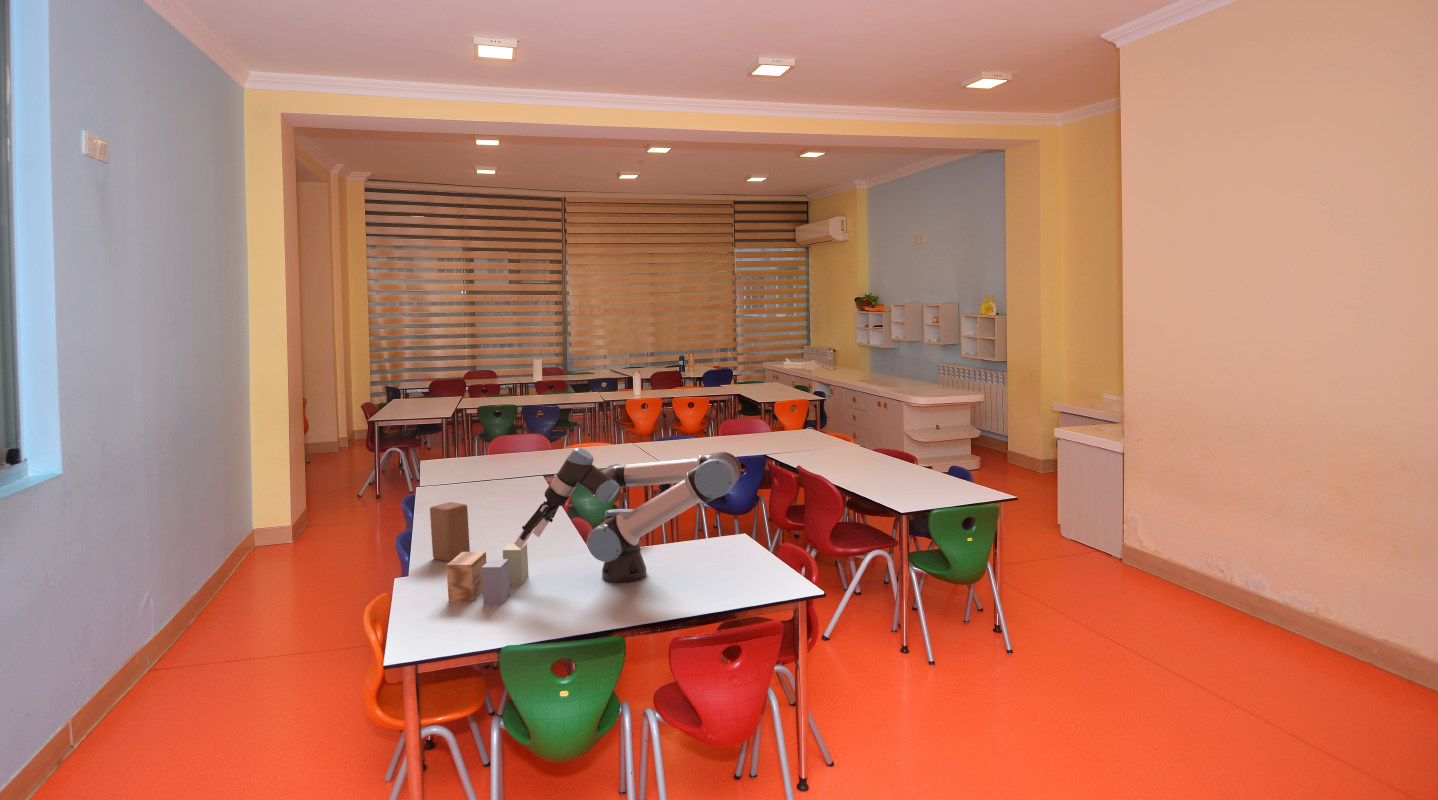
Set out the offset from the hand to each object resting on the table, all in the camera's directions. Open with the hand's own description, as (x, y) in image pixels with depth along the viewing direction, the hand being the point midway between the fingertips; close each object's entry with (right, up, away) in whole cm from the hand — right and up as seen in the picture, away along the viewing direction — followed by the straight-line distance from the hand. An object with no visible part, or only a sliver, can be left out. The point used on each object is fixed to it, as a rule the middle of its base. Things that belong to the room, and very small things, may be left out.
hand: (526, 540), depth 260 cm
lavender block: (-7, -17, -12) cm, 22 cm away
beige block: (-5, -15, +6) cm, 17 cm away
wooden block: (-37, -13, +35) cm, 52 cm away
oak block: (-18, -16, -6) cm, 25 cm away
